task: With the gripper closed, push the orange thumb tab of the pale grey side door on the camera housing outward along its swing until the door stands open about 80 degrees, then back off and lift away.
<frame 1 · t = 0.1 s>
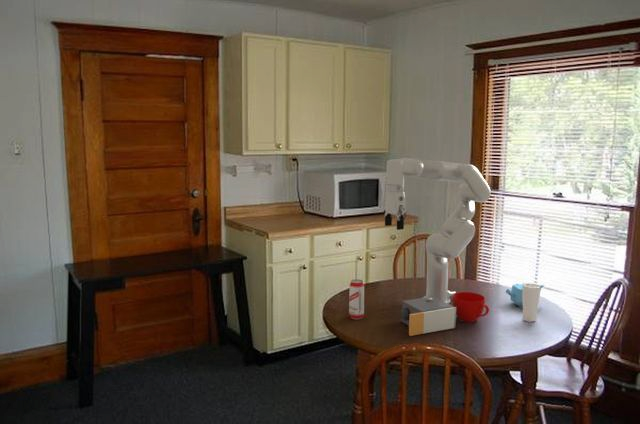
hand: (394, 227, 235), 37 cm above the table, tool pointing down, fingers open, 9 cm apart
side door: (433, 321, 213), point 5 cm above the table, hinge at 0.0°
drinking glass: (529, 320, 227), on the table
ceramic cup: (471, 321, 226), on the table
camera housing: (426, 324, 222), on the table
teapot: (523, 304, 247), on the table
beer can: (356, 317, 230), on the table
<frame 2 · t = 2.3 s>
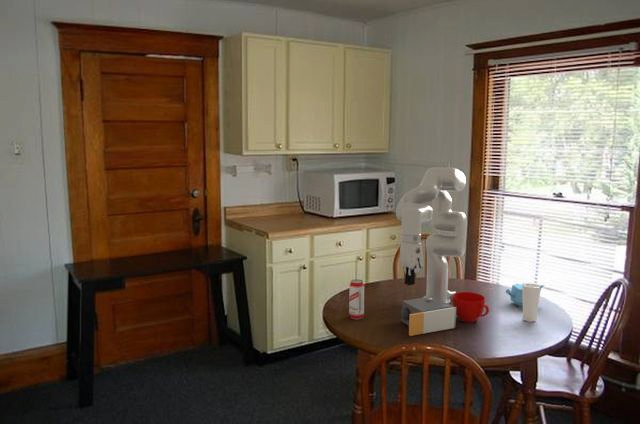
hand: (409, 284, 212), 19 cm above the table, tool pointing down, fingers closed
nothing on the table moved.
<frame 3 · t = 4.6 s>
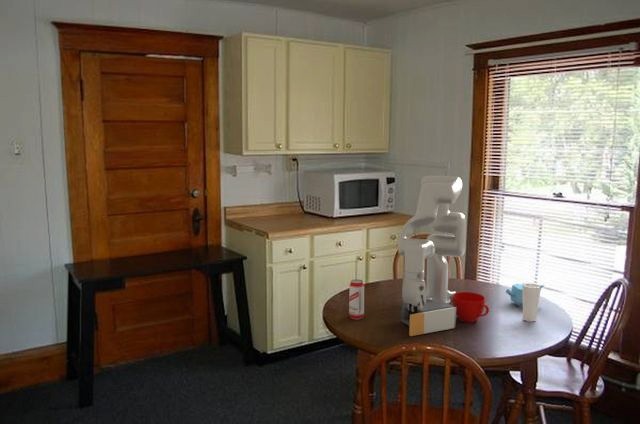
hand: (412, 320, 212), 5 cm above the table, tool pointing down, fingers closed
side door: (433, 321, 213), point 5 cm above the table, hinge at 0.9°, touching gripper
everything else where it was.
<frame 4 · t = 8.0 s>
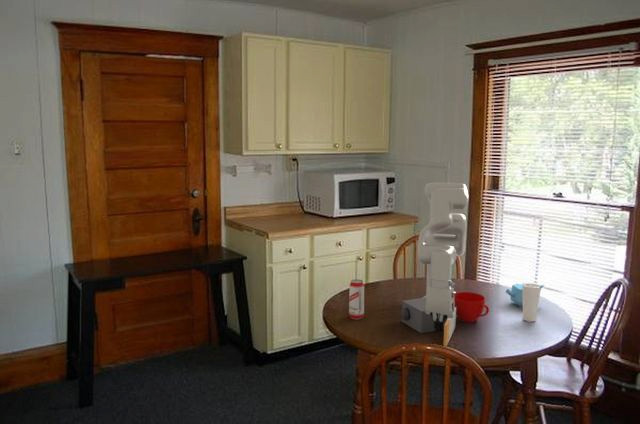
hand: (438, 330, 202), 5 cm above the table, tool pointing down, fingers closed
side door: (450, 326, 207), point 5 cm above the table, hinge at 43.4°, touching gripper
everything else where it was.
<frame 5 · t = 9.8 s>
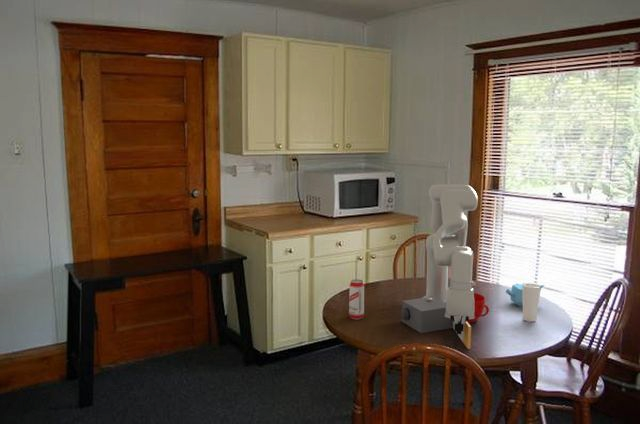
hand: (458, 332, 199), 5 cm above the table, tool pointing down, fingers closed
side door: (461, 326, 207), point 5 cm above the table, hinge at 67.0°, touching gripper
everything else where it was.
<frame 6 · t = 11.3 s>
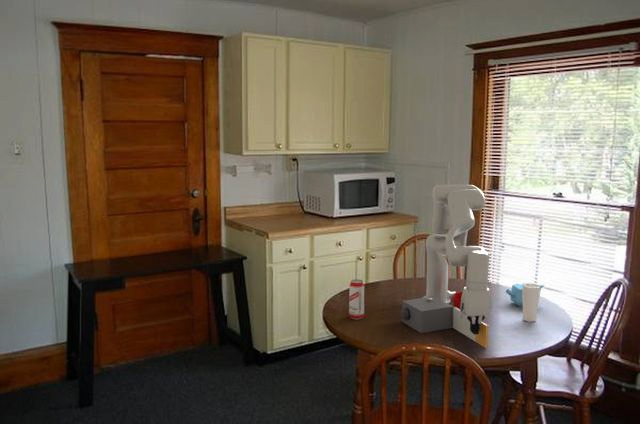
hand: (474, 332, 199), 5 cm above the table, tool pointing down, fingers closed
side door: (469, 326, 207), point 5 cm above the table, hinge at 85.7°, touching gripper
everything else where it was.
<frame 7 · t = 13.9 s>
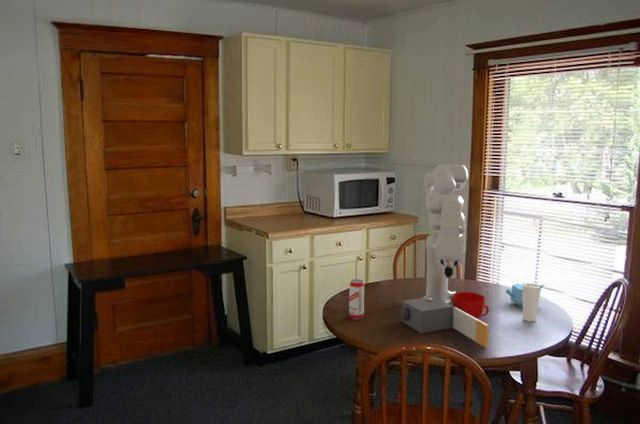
hand: (448, 276, 210), 22 cm above the table, tool pointing down, fingers closed
side door: (469, 326, 207), point 5 cm above the table, hinge at 86.0°
everything else where it was.
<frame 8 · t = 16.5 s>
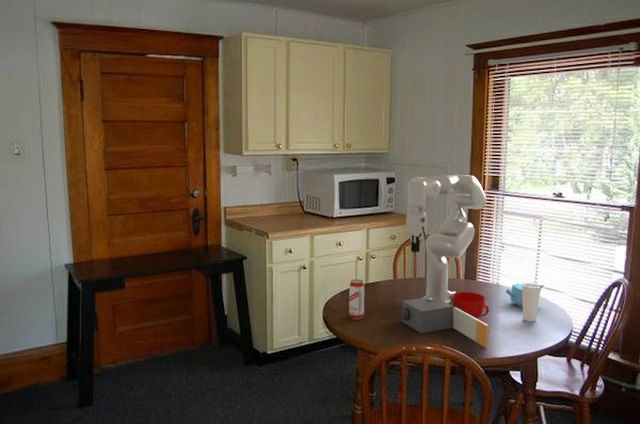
hand: (415, 251, 232), 27 cm above the table, tool pointing down, fingers closed
nothing on the table moved.
at the end: side door at +86° (first picture: +0°) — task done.
